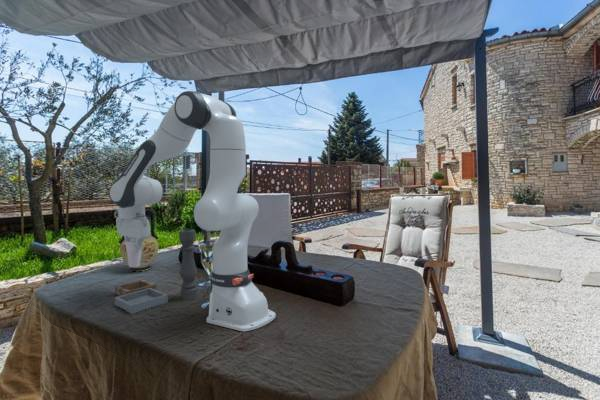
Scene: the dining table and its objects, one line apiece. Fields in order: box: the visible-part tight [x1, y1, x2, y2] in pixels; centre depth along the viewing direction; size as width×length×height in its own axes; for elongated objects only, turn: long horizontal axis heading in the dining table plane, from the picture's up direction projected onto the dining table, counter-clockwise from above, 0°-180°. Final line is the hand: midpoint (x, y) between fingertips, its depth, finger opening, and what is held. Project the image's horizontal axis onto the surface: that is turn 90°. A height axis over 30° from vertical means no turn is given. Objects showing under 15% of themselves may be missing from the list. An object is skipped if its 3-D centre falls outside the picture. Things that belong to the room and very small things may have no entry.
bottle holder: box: [114, 279, 157, 296], centre depth 125 cm, size 11×11×3 cm
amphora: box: [118, 208, 159, 272], centre depth 157 cm, size 18×17×30 cm
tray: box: [114, 288, 169, 315], centre depth 114 cm, size 13×13×3 cm
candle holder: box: [178, 229, 199, 301], centre depth 119 cm, size 6×6×25 cm
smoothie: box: [125, 238, 142, 268], centre depth 124 cm, size 6×6×14 cm
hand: (134, 248), depth 124 cm, fingers closed on smoothie, 6 cm apart
